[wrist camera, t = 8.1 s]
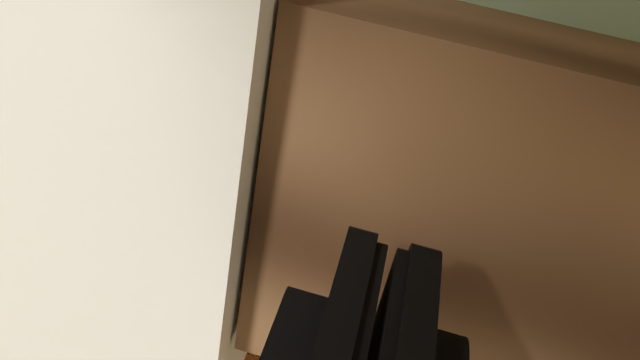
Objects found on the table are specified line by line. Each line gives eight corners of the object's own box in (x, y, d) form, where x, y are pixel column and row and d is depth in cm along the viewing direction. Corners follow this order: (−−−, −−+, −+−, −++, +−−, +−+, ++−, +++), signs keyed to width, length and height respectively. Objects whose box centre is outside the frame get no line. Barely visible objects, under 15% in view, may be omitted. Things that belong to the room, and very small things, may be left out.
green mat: (405, -245, 10) (401, -247, 10) (1138, -92, 10) (1175, -86, 9) (281, 349, 19) (276, 363, 19) (652, 458, 19) (657, 476, 18)
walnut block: (312, -34, 12) (279, 0, 10) (766, 71, 11) (830, 131, 9) (262, 282, 17) (233, 348, 15) (575, 370, 16) (589, 452, 14)
